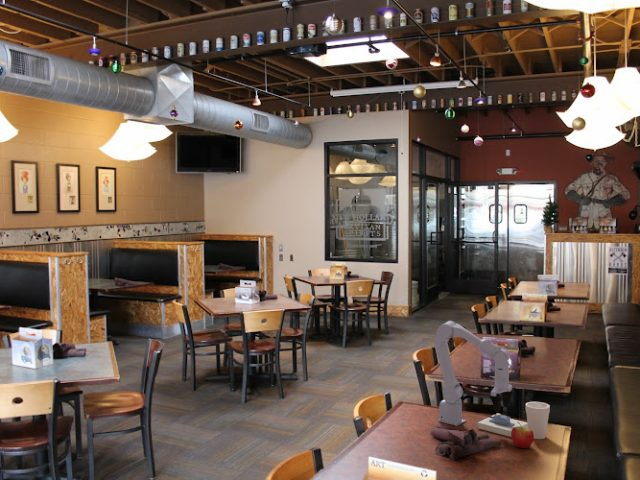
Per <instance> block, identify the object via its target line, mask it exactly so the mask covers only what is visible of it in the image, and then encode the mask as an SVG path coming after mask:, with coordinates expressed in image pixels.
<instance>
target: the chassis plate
mask: <svg viewBox="0 0 640 480" xmlns="http://www.w3.org/2000/svg"><path fill="white" fill-rule="evenodd" d="M494 415H495V414H492V415H491V416H492V417H494ZM491 419H493V418H489V417H488V416H487V418H485V419H482V420H480V421H478V422H477V429H479V430H483V431H486V432H487V431H488V432H490V433H494V434H499V435H502V436H506V437H510V438H512V437H511V431H512V429H513V428H514V427H517V426H520V425H521V426H522V427H525V428H528V421H527V422H526V421H523V420H522V421H521V420H518V419H514V418H510V423H514V424H515V425H514V426H512V427H509V426H503V425H499V424H495V423H493V422H489V420H491ZM518 422H519V423H520V424H519V423H518ZM521 426H520V427H521Z"/></svg>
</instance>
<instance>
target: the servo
mask: <svg viewBox="0 0 640 480" xmlns="http://www.w3.org/2000/svg"><path fill="white" fill-rule="evenodd" d="M493 415H494V417H492V415H488V416H487V418H488V417H489V418H493V419H491V420H489V422H493V423H495V424H499V425H503V426H509V427H512V426H514V425H515V424H514V423H510V419H511V416H508V415H504V414H501V413H500V412H498V413H497V412H496V414H493Z"/></svg>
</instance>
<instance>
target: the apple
mask: <svg viewBox="0 0 640 480" xmlns="http://www.w3.org/2000/svg"><path fill="white" fill-rule="evenodd" d="M518 423H519V422H518ZM519 424H520V423H519ZM520 426H521V425H520ZM520 426H517V427H514V428H513V429H512V431H511V437H510V438H511V440H512V443H514V445H515V446H516V447H518V448H520V449H528V448H529V447H530V446H532V444H533V442H534V440H535V439H534V434H533V431H532V430H530V429H528V428H525V427H522V426H521V427H520Z"/></svg>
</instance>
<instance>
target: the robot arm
mask: <svg viewBox="0 0 640 480" xmlns="http://www.w3.org/2000/svg"><path fill="white" fill-rule="evenodd" d="M435 332H436V334H435V338H434V341H433V345H434V348H435V352H436V357H437V360H438V364H439V366H440V371H441V374H442V375H441V376H442V379H443V399H442V400H441V401H440V402H439V406H438V411H439V412H438V414H439V416H438V417H439V419H438V420H437V421H438V422H439V423H440V422H441V423H444V424H449V425H451V426H459V425H461V424H463V423H466V422H467V420H466V419H463V407H462V406H463V402H462V401H463V400H462V399H461V397H463V395H464V390H463V387H462V386H461V385H460V383H459V381H458V379H457V378H456V374H455V370H454V367H453V363H452V360H451V357H450V353H449V349H448V345H447V343H448V342H449V340H450V339H451V338H461V339H463V340H466V341H467V342H469V343H471V344H473V345H474V346H477V348H478V351H479V352H481V353H483V354H484V355H485V356H488V357H489V358H490V359H493V361H494V387H493V388H492V390H490V393H489V395H488V396H489V398H490V400H491V403H492V406H493V410H494V412H496V413H497V412H498V413H500V411H501V406H502V407H503V408H507V409H508V408H509V407H510V404H511V400H512V397H513V395H514V393H515V391H514V390H513V385H512V384H511V383H510V382H509V381H510V380H509V379H510V367H509V365H510V364H509V360H510V358H511V352H509V350H508V349H507V348H505V347H502V346H500V345H497V344H495V343H494V342H492V340H491V339H489V338H488V339H487V338H484V339H481V338H480V337H478V336H476V335H475V334H474V333H473V332H471V331H469V330H468V329H466V328H465V327H463V326H462V325H461V324H460V323H456V321H453V320H447V321H446V322H445V323H442V324H440V326H439V327H437V329H436V331H435ZM509 383H510V384H509ZM500 394H501V395H500ZM501 404H502V405H501Z"/></svg>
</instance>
